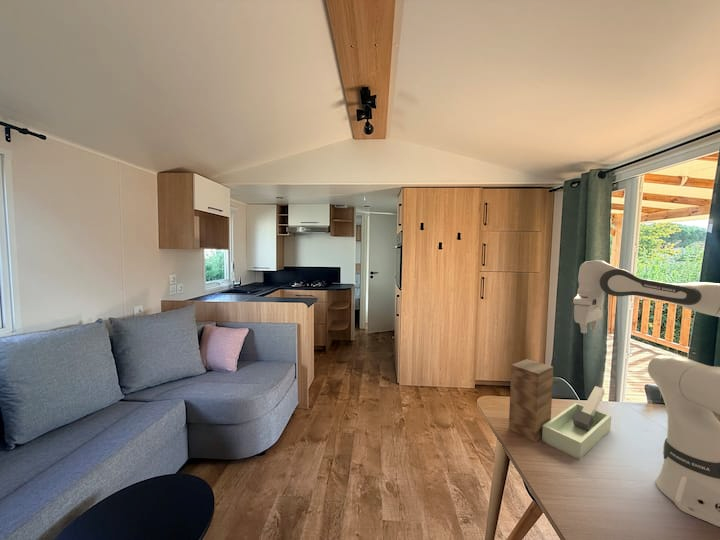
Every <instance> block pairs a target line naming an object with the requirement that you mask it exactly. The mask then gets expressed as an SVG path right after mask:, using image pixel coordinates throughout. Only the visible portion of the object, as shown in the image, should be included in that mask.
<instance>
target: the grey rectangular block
mask: <svg viewBox="0 0 720 540" xmlns="http://www.w3.org/2000/svg"><path fill="white" fill-rule="evenodd" d="M604 396H605V388H602V387H601V386H596V385H595V386H594V388H593V389H592V391H591V393H590V395H589V397H588V398H587V400H586V401H585V404H584V407H583V409H582V411H580V410H577V411H576V413H575V415H574V417H573V423H574V426H576V427H578V428H580V429H583V430H585V431H587V432H589V431H590V429H591V427H592V425H593V423H594V421H593V416H594V414H595V412H596V410H597V409H598V408H599V406H600V404H601V402H602V400H603V398H604ZM597 411H598V410H597Z"/></svg>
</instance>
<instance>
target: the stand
mask: <svg viewBox="0 0 720 540" xmlns="http://www.w3.org/2000/svg"><path fill="white" fill-rule="evenodd" d="M510 367H511V368H510V392H509V412H508V413H509V414H508V415H509V416H508V417H509V418H508V430H511V431H512V432H514V433H516V434H518V435H520V436H522V437H524V438H525V439H528V440H530V441H532V442H534V443H537V442H539V440H542V431H543V425H544V424H546V423H547V422H548V421H550V420H551V419H552V400H553V384H554V366H552V365H548V364H546V363H542V362H539V361H535V360H532V359H528V358H525V359H523V360H520V361H518V362H516V363H512V364H511V366H510Z"/></svg>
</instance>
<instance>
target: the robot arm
mask: <svg viewBox="0 0 720 540" xmlns="http://www.w3.org/2000/svg"><path fill="white" fill-rule="evenodd" d="M577 279H578V280H577V282H578V288H577V293H576V296H575V297H574V298H573V301H572V303H573V304H574V307H573V315H574V316H573V318H574V322H575V323H577V324H579V326H580V333H581V334H587V333H588V328H589V330H591V331H595V330H596V328H597V324H598V320H600V319H602V318H603V312H604V311H603V310H604V309H603V308H604V307H603V305H604V302H605V293H606V294H607V295H610V296H613V297H626V296H636V297H643V298H648V299H654V300H659V301H665V302H668V303H671V304H674V305H677V306H680V307H683V308H686V309H688V310H691V311H693V312H697V313H701V314H704V315H708V316H714V317H718V318H720V283H716V282H706V281H703V282H702V281H691V282H685V283H684V282H683V283H671V282H670V283H669V282H665V281H658V280H652V279H647V278H641V277H639V276H635V275H634V274H633V273H632V272H631V271H629V270H627V269H623V268H619V267H616V266H614V265H612V264H609V263H607V262H606V261H605V260H603V259H598V260H590V261H584V262H582V264H580V266H579V270H578V277H577ZM588 323H590V324H589V327H587V326H588ZM647 365H648V366H647V372H648V374H649V378H650V379H652V380H653V382H654V384H656V386H657V388H658V390H659V392H660V395H661V394H662V397H663V399H664V402H665V403H664V402H663V403H664V404H665V408H666V414H667V430H666V431H667V432H666V438H665V439H664V443H663V447H662V448H663V449H662V455H663V463H662V467H661V470H660V472H659V474H658V476H657V477H656V479H655V484H656V486H657V488H658V489H659V491H660V492H661V493H663V494H664V495H665V496H666V497H667V498H668V499H670V500H671V501H672V502H673V503H674V504H675V506H676V507H677V508H678V509H679V510H681V512H683V513H685V514H688V515H690V516H693V517H695V518H697V519H699V520H702V521H705V522H706V523H709V524H711V525H714V526H716V527H719V528H720V420H719V419H718V418H717V416H715V414H714V413H716V414H718V415H720V366H711V365H707V364H704V363H702V362H697V361H695V360H693V359H689V358H686V357H684V356H679V355H672V354H666V353H665V354H659V355H655V356H654V357H652V359H651V360H649V363H648V364H647ZM713 412H714V413H713Z"/></svg>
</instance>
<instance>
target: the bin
mask: <svg viewBox="0 0 720 540" xmlns="http://www.w3.org/2000/svg"><path fill="white" fill-rule="evenodd" d="M584 406H585V404H580V403H578V402H574V403H573V404H571V405H570V406H569V407H567V408H566V409H564V410H562V412H559V414H557V415H556V416H554V417H553V418H551V420H550V421H548V422H547V423H546V424H544V425H543V431H542V438H541V441H542V443H543V442H544V443H545V444H548V445H549V446H551V447H553V448H555V449H557V450H559V451H562V452H563V453H565V454H567V455H569V456H571V457H574V458H575V459H578V460H579V461H581V460H582V459H581V458H582V457H583V458H584V457H585V456H586V455H588V453H590V451H591V450H592V449H593V448H594V447H595V446H596V445H597V444H598V443H599V442H600V441H602V439H603V438H604V437H605V436H606V435H607V434H608V433H610V432H611V429H612V428H611V425H612V415H611V414H608V413H606V412H602V411H600V410H596V412H595V414H594V416H593V421H594V423H593V425H592V427H591V429H590V431H589V432H587V431H585V430H583V429H580V428H578V427H576V426H574V423H573V417H574V415H575V413H576V411H577V410H580V411H582V409H583V407H584ZM580 459H581V460H580Z"/></svg>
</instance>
